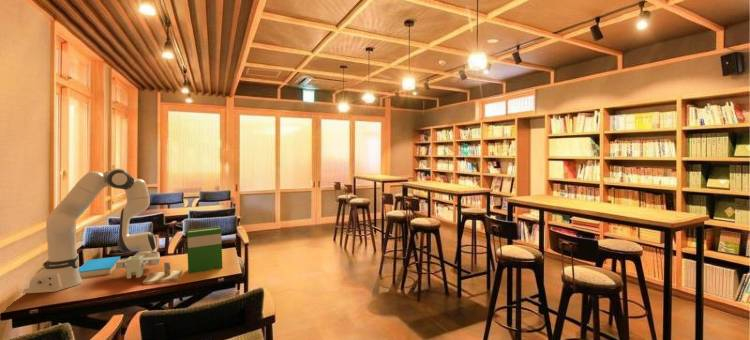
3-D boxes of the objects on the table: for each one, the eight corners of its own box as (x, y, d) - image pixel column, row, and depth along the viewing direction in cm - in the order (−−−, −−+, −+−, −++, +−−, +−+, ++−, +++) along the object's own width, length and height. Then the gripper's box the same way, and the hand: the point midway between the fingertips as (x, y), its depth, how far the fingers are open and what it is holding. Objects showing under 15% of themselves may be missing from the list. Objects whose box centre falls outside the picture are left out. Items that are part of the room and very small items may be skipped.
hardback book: (189, 273, 194) (187, 232, 192) (188, 270, 200) (186, 230, 199) (222, 268, 203) (221, 228, 202) (220, 264, 209) (219, 226, 208)
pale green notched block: (126, 278, 178) (126, 259, 178) (130, 274, 184) (130, 256, 184) (140, 277, 180) (139, 258, 180) (143, 273, 186) (143, 255, 186)
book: (120, 256, 217) (111, 267, 195) (121, 262, 217) (111, 274, 195) (86, 260, 209) (73, 271, 187) (87, 266, 209) (73, 279, 187)
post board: (142, 284, 178) (142, 269, 177) (150, 275, 191) (149, 261, 190) (177, 280, 183) (176, 265, 183) (182, 272, 196) (181, 257, 196)
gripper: (120, 255, 190) (111, 262, 177) (162, 251, 197) (156, 258, 184) (120, 266, 191) (111, 274, 178) (162, 262, 198) (156, 270, 185)
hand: (134, 266), depth 181 cm, fingers closed on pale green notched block, 6 cm apart
